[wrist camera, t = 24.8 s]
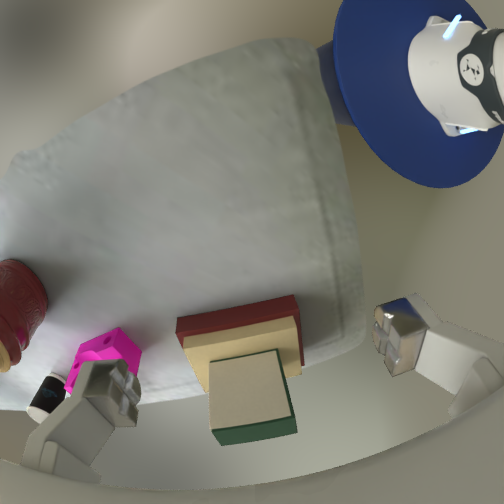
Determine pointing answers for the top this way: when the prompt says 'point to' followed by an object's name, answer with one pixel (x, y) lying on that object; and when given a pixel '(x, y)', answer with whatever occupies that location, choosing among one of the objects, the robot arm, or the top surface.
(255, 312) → the book stack
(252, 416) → the book
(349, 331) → the top surface
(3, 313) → the kitchen canister
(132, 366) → the toy block
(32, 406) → the dixie cup
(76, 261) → the top surface
